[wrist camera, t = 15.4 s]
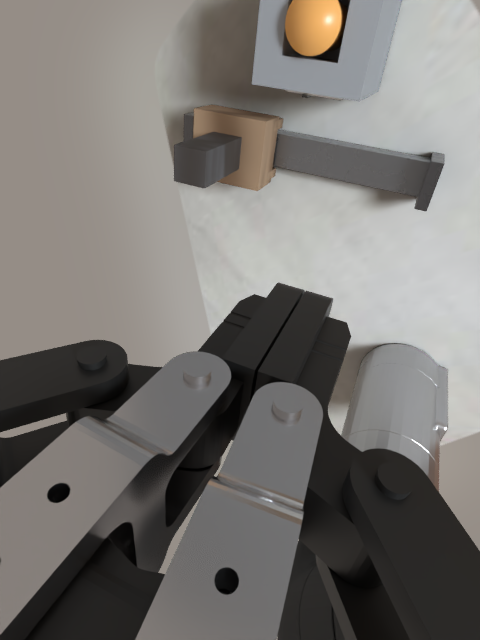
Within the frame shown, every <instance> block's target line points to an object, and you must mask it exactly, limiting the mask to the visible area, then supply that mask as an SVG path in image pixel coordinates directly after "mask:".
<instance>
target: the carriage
mask: <svg viewBox="0 0 480 640" xmlns="http://www.w3.org/2000/svg"><path fill="white" fill-rule="evenodd" d="M282 124H283V118H279V117H278V116H273V115H267V114H262V113H256V112H251V111H245V110H239V109H234V108H228V107H223V106H217V105H208V106H203V107H198V108H194V128H193V139H190V140H187V141H184V142H181V143H178V144H175V145H174V181H176V182H180V183H184V184H189V185H193V186H197V187H201V188H206V187H208V186H210V185H211V184H213V183H215V182H221V183H225V184H229V185H234V186H238V187H242V188H246V189H251V190H255V191H258V190H260V189H261V188H263V187H264V186H265V185H267V184H268V183H270V181H271V178H273V177H274V176H275V172H276V168H274V167H273V160H274V152H275V145H276V138H277V131H278V129H280V128H282Z"/></svg>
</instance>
